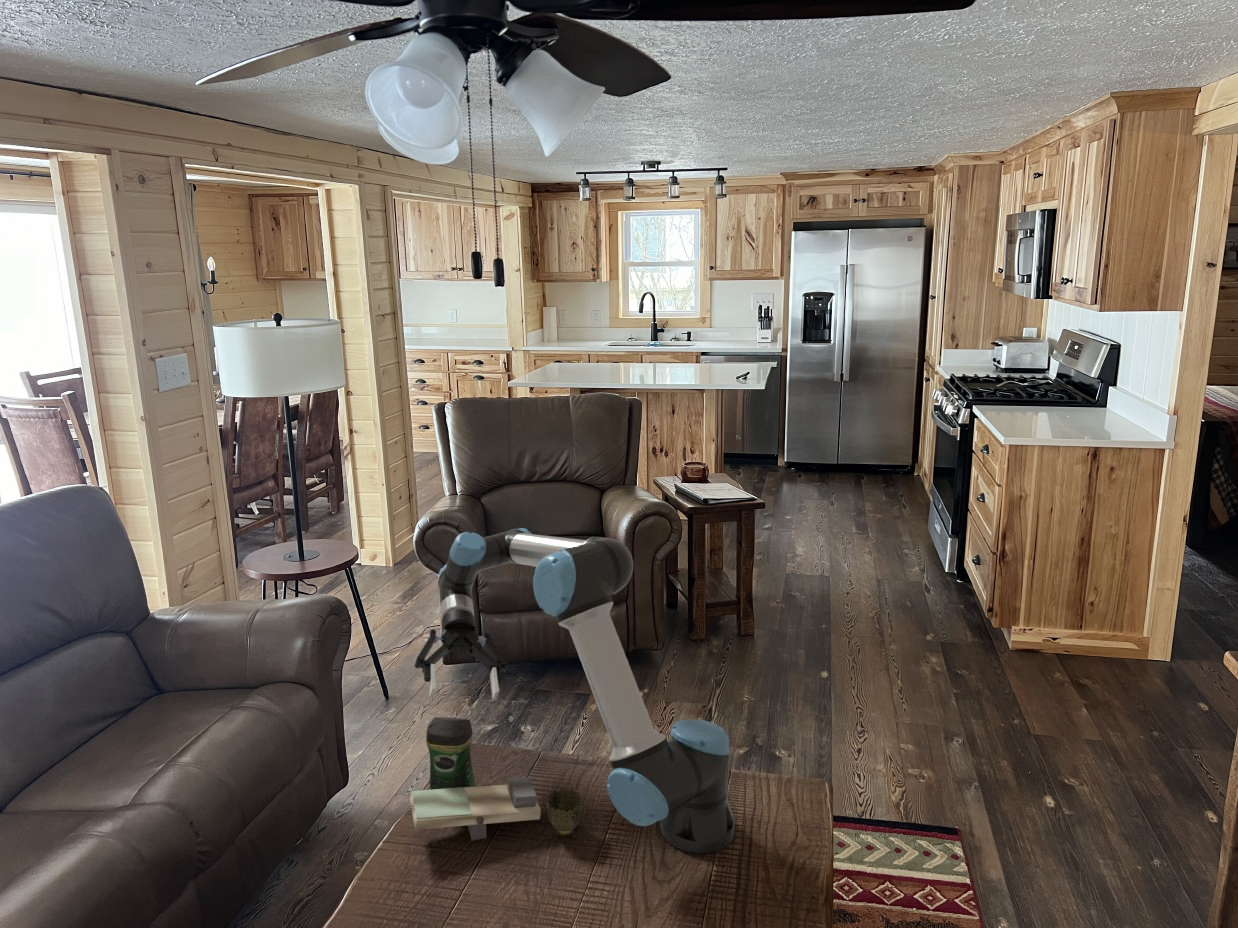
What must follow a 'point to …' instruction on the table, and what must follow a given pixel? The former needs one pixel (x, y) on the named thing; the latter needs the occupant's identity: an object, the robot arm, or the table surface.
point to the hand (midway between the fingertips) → (464, 694)
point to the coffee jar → (450, 753)
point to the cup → (564, 810)
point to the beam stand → (477, 831)
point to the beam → (475, 805)
